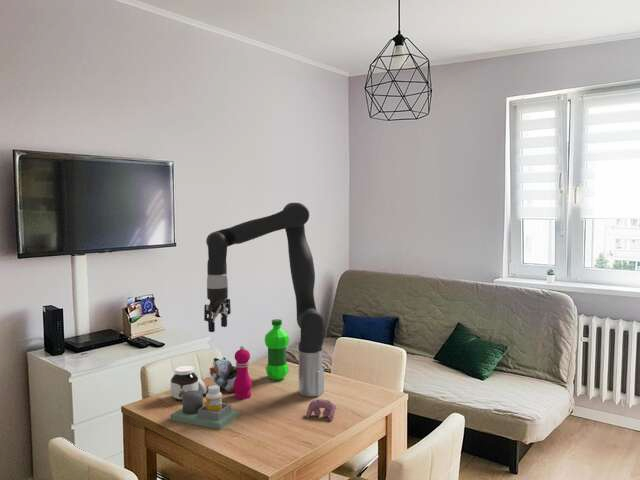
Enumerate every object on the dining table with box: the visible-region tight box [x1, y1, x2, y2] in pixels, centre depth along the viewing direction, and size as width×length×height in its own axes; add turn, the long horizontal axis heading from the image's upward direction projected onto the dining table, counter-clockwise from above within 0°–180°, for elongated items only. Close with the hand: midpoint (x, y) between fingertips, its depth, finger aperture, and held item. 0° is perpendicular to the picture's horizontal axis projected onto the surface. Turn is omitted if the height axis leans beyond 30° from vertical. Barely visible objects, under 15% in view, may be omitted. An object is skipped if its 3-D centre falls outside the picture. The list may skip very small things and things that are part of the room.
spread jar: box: [170, 365, 208, 402], centre depth 208 cm, size 12×11×12 cm
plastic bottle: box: [264, 318, 290, 381], centre depth 229 cm, size 10×10×25 cm
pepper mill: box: [233, 345, 253, 400], centre depth 208 cm, size 7×7×20 cm
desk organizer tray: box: [170, 390, 240, 430], centre depth 188 cm, size 20×12×8 cm, turn 68°
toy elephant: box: [305, 398, 336, 422], centre depth 189 cm, size 10×5×7 cm, turn 72°
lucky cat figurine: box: [209, 356, 237, 394], centre depth 218 cm, size 15×12×14 cm
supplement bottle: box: [205, 384, 223, 412], centre depth 186 cm, size 5×5×10 cm
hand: (218, 329), depth 200 cm, fingers open, 8 cm apart
